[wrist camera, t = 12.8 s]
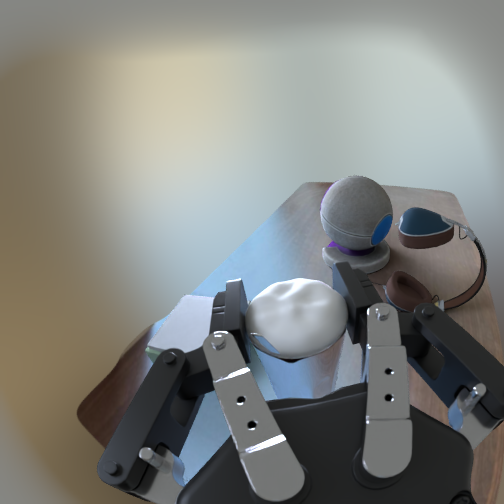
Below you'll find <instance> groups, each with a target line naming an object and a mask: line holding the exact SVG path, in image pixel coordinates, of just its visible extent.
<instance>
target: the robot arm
mask: <svg viewBox="0 0 504 504" xmlns="http://www.w3.org/2000/svg"><path fill="white" fill-rule="evenodd" d="M333 289H334V290H335V291H337V292H338V293H339V294H340V295H341V296H342V297H343V298H344V299H345V301H346V304H347V307H348V322H347V327H346V328H347V330H348V333H349V336H350V338H351V341H352V344H357V343H360V345H361V348H362V359H361V378H360V383H358V384H354V385H350V386H346V387H342V388H339V389H337V390H335V391H333V392H331V393H329V394H326V395H324V396H322V397H319V398H315V399H313V398H291V397H290V398H283V399H276V400H268V401H265V399H264V397H263V395H262V393H261V391H260V389H259V387H258V385H257V383H256V381H255V379H254V377H253V375H252V373H251V371H250V369H249V368H248V367H247V365H246V364H247V363H250V339H249V337H248V335H247V331H246V326H245V314H246V311H247V309H248V303H247V298H246V294H245V290H244V286H243V282H242V279H237V280H231V281H227V284H226V291H224V292H218V293H217V295H216V296H215V298H214V299H213V306H212V307H213V308H212V314H211V321H210V329H209V336H207V337H206V339H205V340H204V342H203V345H202V346H200V347H199V348H197V349H195V350H192V351H189V352H186V353H184V351H183V350H181V349H179V348H169V349H166V350H164V351H163V352H161V353H160V354H159V355H158V357H157V359H156V360H155V362H154V364H153V365H152V367H151V369H150V371H149V372H148V374H147V376H146V377H145V379H144V381H143V383H142V384H141V386H140V388H139V390H138V391H137V393H136V395H135V397H134V398H133V400H132V402H131V404H130V405H129V407H128V409H127V411H126V413H125V414H124V416H123V418H122V420H121V422H120V423H119V425H118V427H117V429H116V431H115V432H114V434H113V436H112V438H111V440H110V442H109V443H108V445H107V447H106V449H105V451H104V453H103V455H102V456H101V459H100V460H99V462H98V465H97V472H98V475H99V477H100V479H101V480H102V481H103V482H105V483H106V484H108V485H110V486H112V487H114V488H117V489H119V490H121V491H123V492H126V493H128V494H130V495H132V496H135V497H137V498H140V499H142V500H145V501H149V502H150V501H151V502H154V503H157V504H476V502H475V500H474V498H473V496H472V494H471V484H470V483H471V471H472V466H473V450H474V449H475V448H476V447H477V446H478V445H479V444H480V443H481V442H482V441H483V439H484V438H485V437H486V436H487V435H488V434H489V433H490V432H491V431H492V430H494V429H495V428H497V427H498V426H499V425H500V424H501V423H502V422H503V421H504V366H503V365H502V364H501V363H500V362H499V361H498V360H497V359H496V358H494V357H493V356H492V355H491V354H490V353H489V352H488V351H487V350H486V349H485V348H484V347H483V346H482V345H481V344H480V343H479V342H478V341H476V340H475V339H474V338H473V337H472V336H471V335H470V334H469V333H468V332H467V331H465V330H464V329H463V328H462V327H461V326H460V325H459V324H457V323H456V322H455V321H454V320H453V319H452V318H451V317H449V316H448V315H447V314H446V313H445V312H444V311H442V310H441V309H440V308H439V307H438V306H436V305H434V304H432V303H421V304H419V305H417V306H416V307H415V310H414V313H401V312H397V310H396V309H395V308H394V307H393V306H392V305H390V304H386V303H383V301H382V299H381V298H380V296H379V294H378V293H377V291H376V289H375V288H374V286H373V284H372V283H371V281H370V279H369V278H368V276H367V275H366V273H365V272H363V271H362V270H360V269H359V268H357V269H352V267H351V266H350V264H349V262H348V261H341V262H336V263H333ZM432 345H433V346H434V347H435V348H436V349H437V350H438V351H439V352H440V353H441V354H442V355H443V356H444V357H443V356H442V355H441V354H440V353H439V352H438V351H437V350H436V349H435V348H434V347H433V346H432ZM407 362H408V363H409V364H410V365H411V366H412V367H413V368H414V369H415V370H416V372H417V373H418V374H419V375H420V376H421V377H422V378H423V380H424V381H425V382H426V383H427V384H428V385H429V386H430V388H431V389H432V390H433V391H434V392H435V393H436V394H437V396H438V397H439V398H440V399H441V400H442V401H443V403H444V404H445V405H446V406H447V407H448V408H449V409H448V419H449V424H450V426H451V427H452V428H451V427H449V426H447V425H445V424H443V423H442V422H440V421H438V420H436V419H435V418H433V417H431V416H429V415H427V414H426V413H424V412H422V411H420V410H419V409H417V408H415V407H414V406H412V405H410V403H409V381H408V367H407ZM214 390H215V391H216V394H217V397H218V400H219V403H220V405H221V408H222V411H223V414H224V417H225V419H226V422H227V425H228V427H229V430H230V433H231V435H230V436H229V438H228V439H227V440H226V441H225V442H224V443H223V445H222V446H221V447H220V448H219V449H218V450H217V452H216V453H215V454H214V455H213V456H212V457H211V458H210V459H209V461H208V462H207V463H206V464H205V465H204V466H203V467H202V468H201V469H200V470H199V472H198V473H197V474H196V475H195V476H194V477H193V478H192V479H191V480H190V481H189V482H188V483H187V484H186V485H185V484H184V481H183V475H184V464H183V462H182V461H181V459H179V455H180V453H181V450H182V448H183V446H184V443H185V441H186V439H187V436H188V434H189V432H190V429H191V427H192V424H193V422H194V420H195V417H196V415H197V413H198V410H199V408H200V405H201V403H202V401H203V398H204V396H205V394H206V393H209V392H212V391H214Z"/></svg>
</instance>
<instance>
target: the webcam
mask: <svg viewBox="0 0 504 504" xmlns="http://www.w3.org/2000/svg"><path fill="white" fill-rule="evenodd" d="M320 215H321V222H322V225H323V228H324V230H325V232H326V233H327V235H328V236H329V237H330V238H331V239H332V240H333V242H331V243H330V244H329V246H328V247H324V248H323V259H324V261H325V262H326V264H327V265H328V266H330V267H331V268H333V263H336V262H341V261H348V262H349V264H350V266H351V267H352V269H357V268H359V269H360V270H362V271H363V272H365V273H366V274H367V273H372V272H375V271H377V270H379V269H381V268H383V267H384V266H385V265H386V264H387V263H388V261H389V257H390V249H389V245H388V244H387V242H386V241H385V240H384V238H385V236H386V235H387V234H388V232H389V230H390V227H391V224H392V219H393V210H392V205H391V202H390V199H389V197H388V195H387V193H386V192H385V190H384V189H383V188H382V187H381V186H380V185H379V184H377V183H376V182H375V181H373V180H371V179H369V178H366V177H363V176H348V177H345V178H342V179H340V180H338V181H336V182H335V183H333V184H332V185H331V186H330V187H329V189H328V190H327V191H326V193H325V195H324V197H323V199H322V202H321V207H320Z"/></svg>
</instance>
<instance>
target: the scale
mask: <svg viewBox="0 0 504 504" xmlns="http://www.w3.org/2000/svg"><path fill="white" fill-rule="evenodd" d="M213 299H214V297H204V296H194V295H184V296H183V298H182V299H181V300H180V301H179V303H178V304H177V305H176V307H175V308H174V309H173V311H172V312H171V313H170V315H169V316H168V317H167V319H166V320H165V322H164V323H163V324H162V326H161V327H160V328H159V330H158V331H157V332H156V334H155V335H154V337H153V338H152V339H151V341H150V342H149V343H148V348H147V349H146V350H145V351H146V353H147V355H148V356H149V358H150V359H151V361H152V362H153V364H154V362H155V360H156V359H157V357H158V355H159V354H160V353H161V352H163V351H164V350H166V349H169V348H179V349H181V350H183V351H184V353H186V352H189V351H192V350H195V349H197V348H199V347H200V346H202V345H203V342H204V340H205V339H206V337H207V336H209V329H210V321H211V314H212V308H213V307H212V306H213ZM247 303H248V307H249V305H250V303H251V301H248V300H247Z"/></svg>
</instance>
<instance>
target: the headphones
mask: <svg viewBox="0 0 504 504" xmlns="http://www.w3.org/2000/svg"><path fill="white" fill-rule="evenodd" d="M454 224H456V225H458V226H459V238H460V227H462V228H463V229H464V231H465V233H466V234H467V236H468V237H469V238H470V239H471V241H474V243H475V244H476V246H477V248H478V250H479V253H480V258H481V268H480V273H479V275H478V278H477V279H476V281H475V283H474V284H473V285H472V286H471V287H470V288H469V289H468V290H467V291H465V292H464V293H462V294H461V295H459V296H457V297H454V298H452V299H450V300H448V301H445V302H444V301H443V300H441V301H439V297H438V296H437V295H435V296H437V297H438V302H436V303H434V305H436V306H438V307H439V308H440V309H441V310H442V311H444V310H447V309H452V308H456V307H458V306H461V305H463V304H464V303H466V302H468V301H469V300H470V299H472V298H473V297H474V296H475V295H476V294H477V293H478V291H479V290H480V289H481V287H482V285H483V283H484V280H485V276H486V271H487V259H486V255H485V252H484V249H483V247H482V245H481V243H480V241H479V240H478V239H477V237H476V236H475V235H474V233H473V231H472V230H471V229H470V228H469V227H467V226H466V225H465V226H463V225H462V224H460V223H458V222H456V221H453V220H451V219H448V218H446V217H444V216H441V215H439V214H437V213H435V212H432V211H429V210H426V209H423V208H416V207H415V208H410V209H408V210H407V211H406V212H405V213H404V214H403V215H402V217H401V219H400V221H399V222H397V223H396V224H395V225H398V232H399V240H400V242H401V244H402V245H404V246H405V247H407V248H414V249H425V248H431V247H437V246H440V245H443V244H445V243H447V242H449V241H450V240H451V239H452V238H453V235H454ZM467 236H465V237H464V238H466V237H467ZM464 238H462V239H464ZM460 239H461V238H460ZM476 240H477V241H476ZM480 246H481V247H480ZM481 248H482V249H481ZM482 250H483V252H482ZM483 253H484V255H483ZM371 283H372V282H371ZM375 284H377V283H375ZM379 285H381V284H379ZM383 286H386V287H383V288H384V289H385V290H386V292H385V294H386V299H387V301H388V303H389V304H390V305H392V306H393V307H394V308H395V309H398V310H401V311H406V312H414V310H415V307H416V306H417V305H419V304H421V303H432V300H433V299H434V297H435V296H434V297H433V299H432V296H431V294H430V292H429V291H428V290H427V289H426V288H425V286H424V285H423V284H421V283H420V282H419V281H418V280H417V279H415V278H414V277H412V276H411V275H409V274H407V273H405V272H403V271H395V272H394V273H393V274H392V275H391V277H390V278H389V280H388V282H387V285H383Z"/></svg>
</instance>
